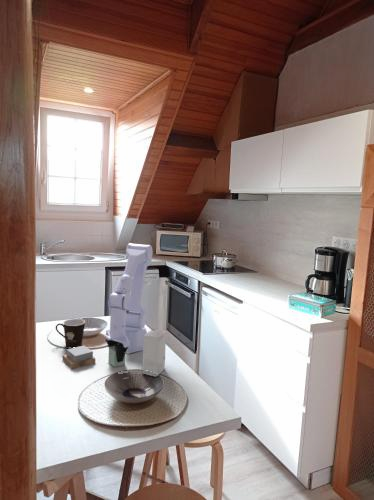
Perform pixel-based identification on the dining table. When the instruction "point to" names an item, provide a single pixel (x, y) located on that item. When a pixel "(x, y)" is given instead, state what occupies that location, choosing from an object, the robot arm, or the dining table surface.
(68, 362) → the tan square slab
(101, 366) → the dining table surface
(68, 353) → the grey square slab
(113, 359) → the green column
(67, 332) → the coffee mug
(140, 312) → the robot arm
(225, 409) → the dining table surface
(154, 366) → the skincare box
